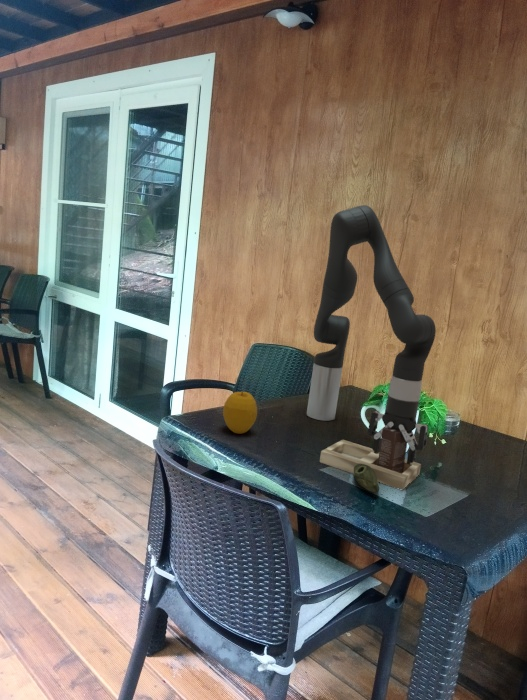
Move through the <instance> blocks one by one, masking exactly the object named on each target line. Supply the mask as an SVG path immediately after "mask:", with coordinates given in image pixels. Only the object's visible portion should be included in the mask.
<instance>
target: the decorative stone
mask: <svg viewBox="0 0 527 700" xmlns="http://www.w3.org/2000/svg"><path fill="white" fill-rule="evenodd" d="M353 476H354V479H355V481H356V482H357V484H358V485H360V486H361V487H362V488H364V489H365V490H368V491H369V492H372V493H379V492H380V485H379V482H378V481H377V477H376V474H375V472H374V470H373V469H372V468H371V467H370V466H368V465H365V464H360V463H359V464H357V465H356V466H355V467H354V474H353Z"/></svg>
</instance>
